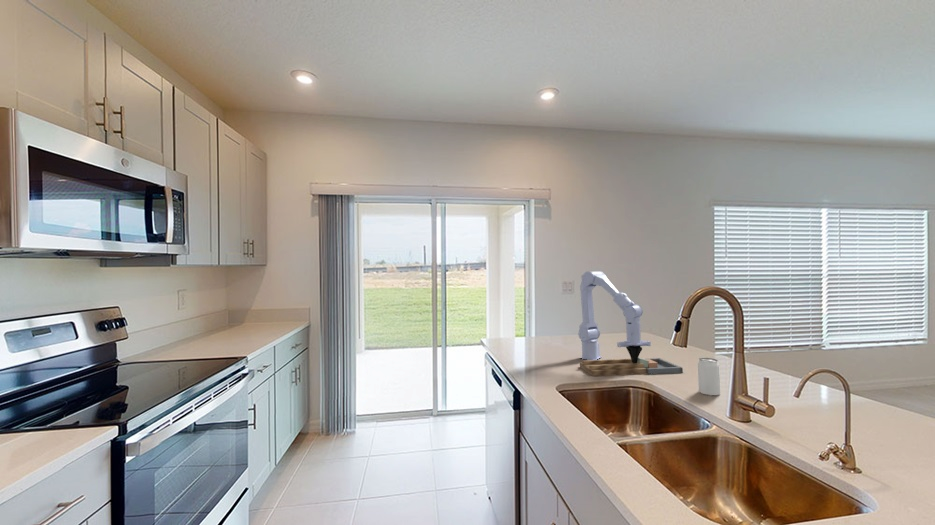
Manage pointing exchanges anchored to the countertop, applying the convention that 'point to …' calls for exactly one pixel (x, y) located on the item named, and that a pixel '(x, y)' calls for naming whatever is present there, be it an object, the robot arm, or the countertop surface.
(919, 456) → the countertop surface
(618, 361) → the brown wooden rack
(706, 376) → the can
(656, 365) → the salmon pink block
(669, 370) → the tray
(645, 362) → the pale green upright block
